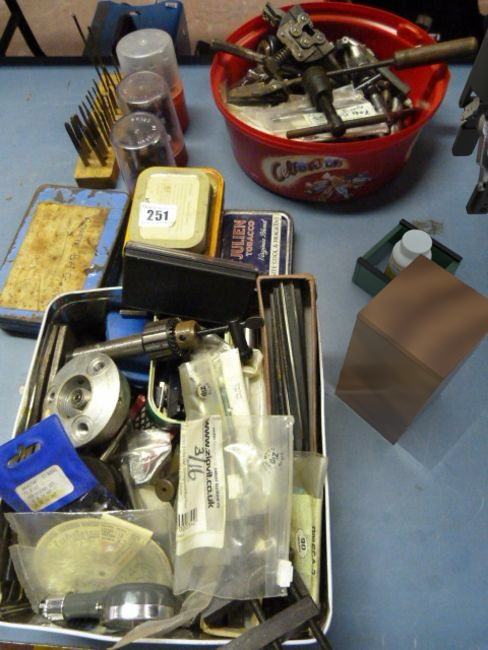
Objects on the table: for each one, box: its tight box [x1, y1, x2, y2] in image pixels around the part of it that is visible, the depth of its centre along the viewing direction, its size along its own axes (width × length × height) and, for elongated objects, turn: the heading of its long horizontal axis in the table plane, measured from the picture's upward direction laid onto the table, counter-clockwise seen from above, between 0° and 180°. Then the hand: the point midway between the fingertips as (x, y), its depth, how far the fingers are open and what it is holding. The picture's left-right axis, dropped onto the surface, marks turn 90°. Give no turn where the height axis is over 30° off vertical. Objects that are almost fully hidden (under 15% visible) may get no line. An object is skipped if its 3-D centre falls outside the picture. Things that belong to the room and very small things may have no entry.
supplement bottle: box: [383, 229, 432, 279], centre depth 73 cm, size 5×5×10 cm
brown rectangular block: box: [334, 254, 488, 446], centre depth 59 cm, size 10×10×22 cm
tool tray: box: [351, 217, 464, 298], centre depth 75 cm, size 11×11×6 cm
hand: (467, 181), depth 55 cm, fingers open, 8 cm apart
